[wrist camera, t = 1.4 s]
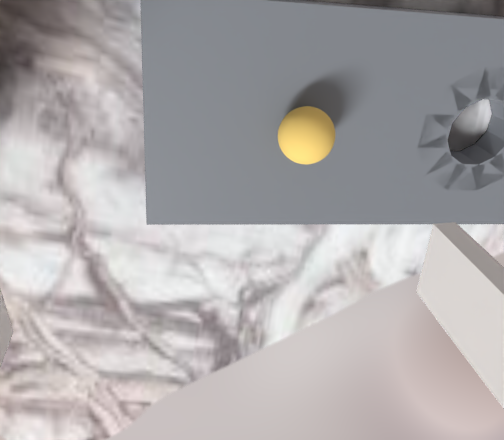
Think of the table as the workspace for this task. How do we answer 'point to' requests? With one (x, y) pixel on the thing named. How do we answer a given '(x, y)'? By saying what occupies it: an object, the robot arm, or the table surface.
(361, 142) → the grey flat block
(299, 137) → the ball
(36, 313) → the table surface
